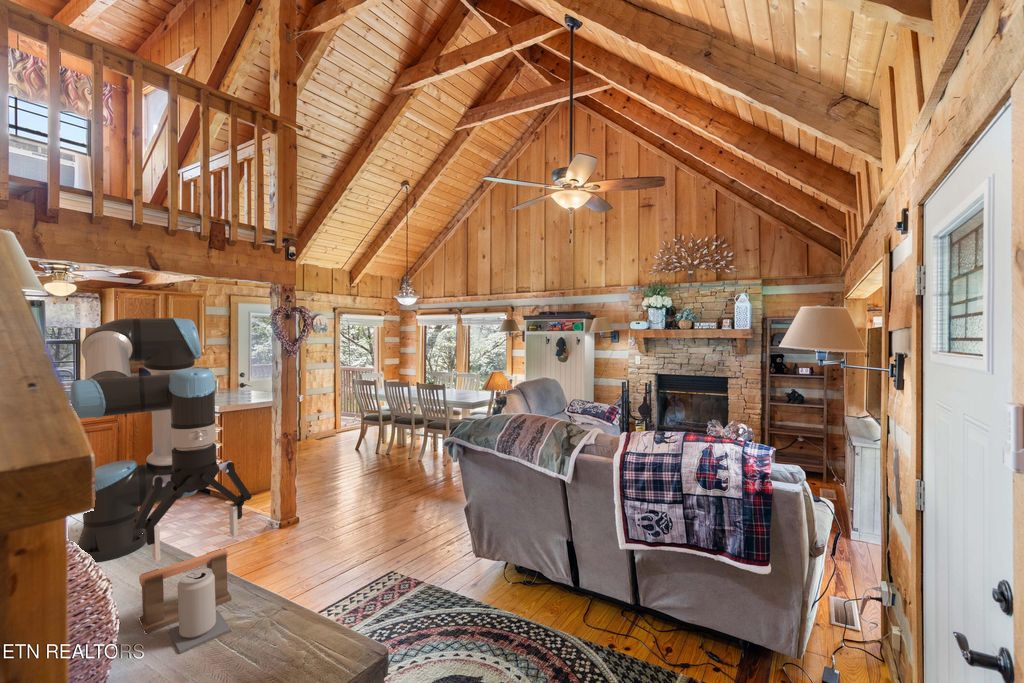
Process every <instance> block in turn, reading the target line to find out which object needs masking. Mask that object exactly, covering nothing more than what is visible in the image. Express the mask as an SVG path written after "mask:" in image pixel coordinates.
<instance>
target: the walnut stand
mask: <svg viewBox="0 0 1024 683" xmlns="http://www.w3.org/2000/svg"><path fill="white" fill-rule="evenodd" d="M220 549H221V548H219V549H215V550H212V551H209V552H206V553H205V554H208V553H211V552H214V551H217V550H220ZM206 568H210V569H212V573H213V574H214V576H215V605H216V607H218V606H221V605H222V604H223V605H224V604H225V603H228V602H230V601H232V598H233V597H232V595H231V594H230V592H229V590H228V557H227V555H226V554H223V555H220V556H217V557H214V558H211V563H209V564H207V565H206ZM158 569H159V568H156V569H154V570H149V571H146V572H144V573H141V574H140V575H143V574H146V573H149V572H152V571H155V570H158ZM164 594H165V593H164V579H163V575H159V576H156V577H153V578H150V579H147V580H145V585H144V586H141V595H142V596H141V598H142V599H141V601H142V603H141V604H142V615H140V616H138V618H140V621H141V623H142V626H143V628H142V630H143V629H144V631H145V633H148V634H150V633H153V632H155V631H157V630H160V629H162V628H165V627H168V626H170V625H173V624H176V623H177V622H178V623H179V612H178V601H177V602H174V603H172V604H170V605H167V606H165V595H164ZM140 621H139V622H140ZM142 626H141V627H142ZM144 631H143V632H144ZM152 631H153V632H152ZM149 632H150V633H149ZM145 633H144V634H145Z"/></svg>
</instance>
